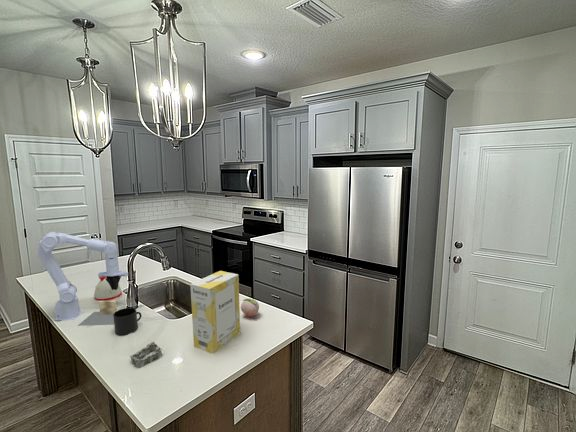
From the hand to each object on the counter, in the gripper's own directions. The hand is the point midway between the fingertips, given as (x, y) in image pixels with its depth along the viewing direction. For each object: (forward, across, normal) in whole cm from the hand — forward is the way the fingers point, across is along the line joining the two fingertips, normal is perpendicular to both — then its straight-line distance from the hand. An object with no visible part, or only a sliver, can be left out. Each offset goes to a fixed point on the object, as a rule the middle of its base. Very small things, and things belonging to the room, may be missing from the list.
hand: (114, 289), depth 163 cm
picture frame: (+10, 0, +12) cm, 16 cm away
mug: (+11, -17, +23) cm, 31 cm away
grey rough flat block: (+11, -34, +46) cm, 58 cm away
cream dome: (+11, +12, -15) cm, 22 cm away
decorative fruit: (+11, -73, +14) cm, 75 cm away
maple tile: (+10, 0, +8) cm, 13 cm away
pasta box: (+11, -60, +34) cm, 70 cm away
